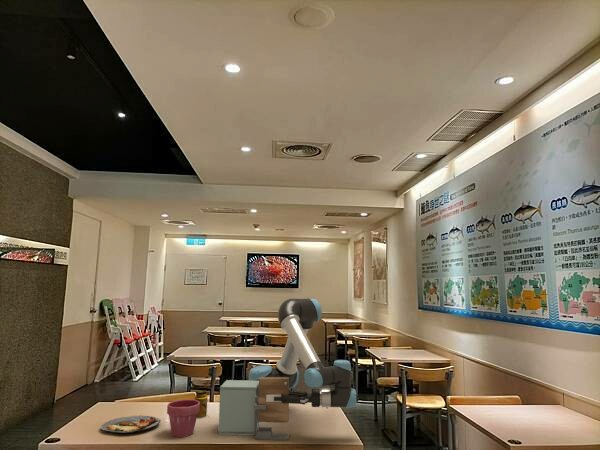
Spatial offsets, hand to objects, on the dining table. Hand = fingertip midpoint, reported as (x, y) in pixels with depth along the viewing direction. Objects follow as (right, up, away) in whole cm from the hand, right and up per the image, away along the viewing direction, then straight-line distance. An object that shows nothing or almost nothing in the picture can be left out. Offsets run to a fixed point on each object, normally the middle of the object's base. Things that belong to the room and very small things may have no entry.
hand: (266, 397), depth 183 cm
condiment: (-36, -21, +27) cm, 50 cm away
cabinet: (-6, -17, +4) cm, 19 cm away
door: (+3, -10, -2) cm, 10 cm away
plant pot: (-37, -17, +1) cm, 41 cm away
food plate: (-63, -18, +9) cm, 66 cm away
